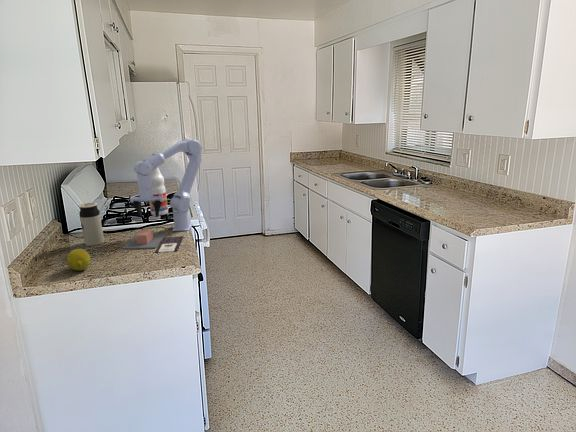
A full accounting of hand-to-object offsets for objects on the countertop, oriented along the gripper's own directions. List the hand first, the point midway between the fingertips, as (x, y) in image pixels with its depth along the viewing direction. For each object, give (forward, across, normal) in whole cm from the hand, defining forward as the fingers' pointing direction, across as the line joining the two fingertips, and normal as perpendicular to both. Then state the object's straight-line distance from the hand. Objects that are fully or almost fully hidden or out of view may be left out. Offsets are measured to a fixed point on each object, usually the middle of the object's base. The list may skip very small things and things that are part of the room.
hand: (149, 216), depth 183 cm
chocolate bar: (+10, +12, -12) cm, 20 cm away
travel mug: (+10, -23, -8) cm, 26 cm away
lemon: (+10, -15, -37) cm, 41 cm away
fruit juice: (+10, -8, +39) cm, 41 cm away
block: (+9, 0, -8) cm, 12 cm away
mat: (+9, 0, -8) cm, 12 cm away
